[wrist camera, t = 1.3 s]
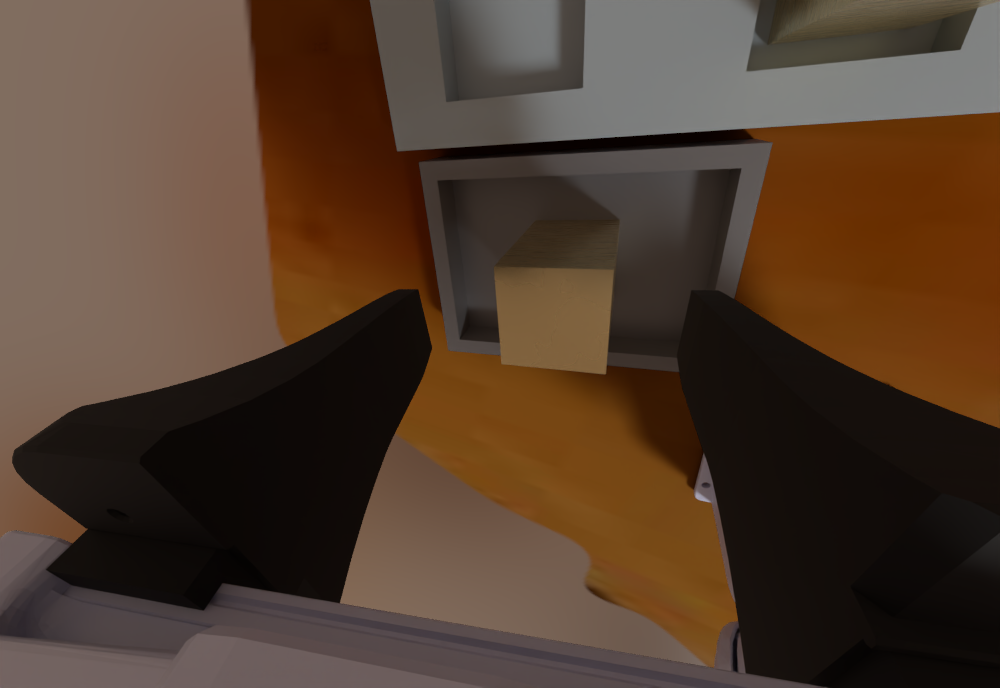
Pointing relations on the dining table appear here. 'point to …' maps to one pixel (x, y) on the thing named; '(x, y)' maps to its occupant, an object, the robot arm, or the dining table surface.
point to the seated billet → (857, 16)
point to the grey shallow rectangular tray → (598, 196)
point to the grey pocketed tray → (660, 70)
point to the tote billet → (558, 295)
